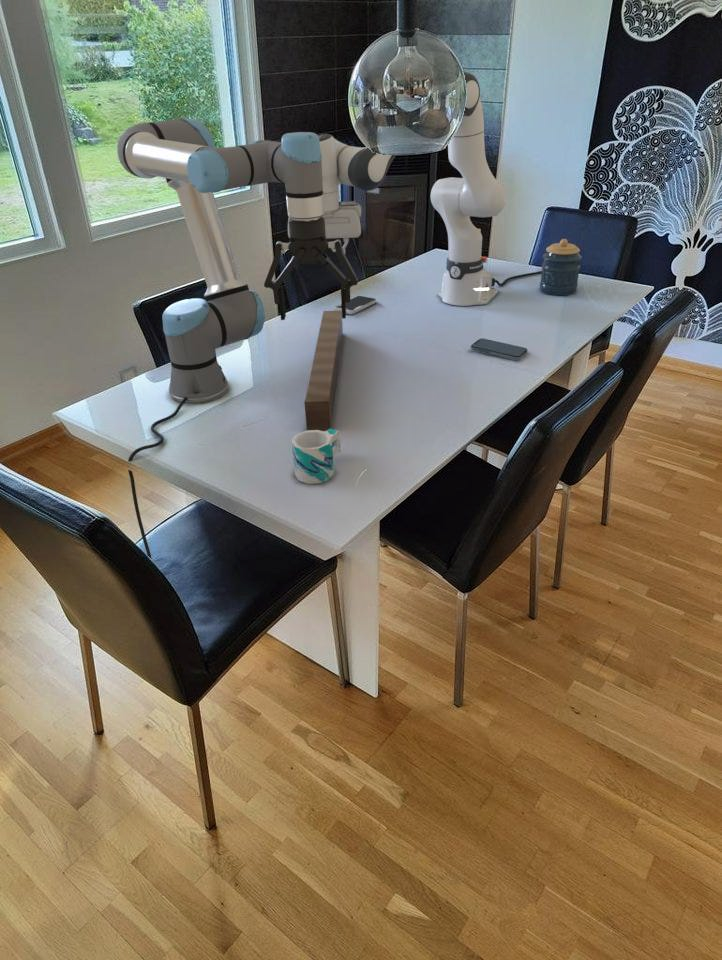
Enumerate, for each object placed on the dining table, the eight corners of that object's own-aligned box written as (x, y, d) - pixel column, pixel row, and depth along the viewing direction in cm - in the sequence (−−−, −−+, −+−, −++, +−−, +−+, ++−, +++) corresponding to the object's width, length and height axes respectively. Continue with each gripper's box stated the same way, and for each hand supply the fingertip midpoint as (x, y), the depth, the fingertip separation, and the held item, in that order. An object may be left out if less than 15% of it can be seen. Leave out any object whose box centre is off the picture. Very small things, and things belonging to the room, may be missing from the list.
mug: (287, 476, 140) (283, 442, 136) (320, 451, 149) (318, 418, 144) (319, 487, 137) (316, 452, 132) (351, 460, 145) (350, 426, 140)
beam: (330, 431, 157) (328, 401, 153) (306, 431, 157) (304, 401, 153) (342, 334, 209) (341, 310, 205) (325, 335, 210) (323, 311, 205)
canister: (550, 297, 232) (557, 245, 222) (532, 287, 242) (537, 236, 233) (584, 293, 235) (591, 241, 225) (564, 283, 245) (571, 233, 236)
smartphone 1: (376, 298, 233) (351, 311, 223) (376, 302, 234) (352, 315, 224) (358, 295, 237) (333, 307, 227) (358, 299, 238) (333, 311, 228)
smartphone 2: (518, 357, 186) (469, 345, 193) (518, 362, 187) (469, 351, 194) (528, 347, 191) (480, 337, 198) (528, 353, 192) (480, 342, 199)
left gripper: (367, 211, 141) (369, 310, 152) (249, 215, 141) (260, 313, 153) (366, 219, 134) (369, 321, 146) (243, 223, 135) (255, 324, 147)
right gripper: (361, 198, 183) (363, 250, 191) (287, 201, 184) (291, 252, 192) (360, 203, 178) (362, 256, 186) (284, 206, 179) (289, 258, 186)
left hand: (313, 317), depth 149 cm, fingers open, 13 cm apart
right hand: (326, 254), depth 189 cm, fingers open, 8 cm apart
